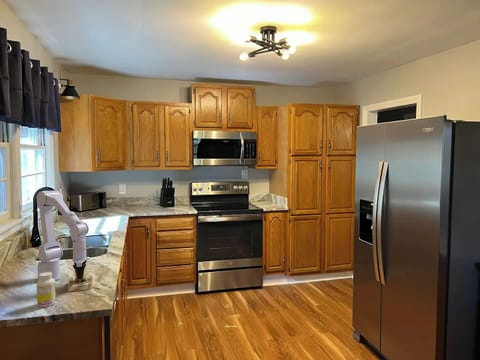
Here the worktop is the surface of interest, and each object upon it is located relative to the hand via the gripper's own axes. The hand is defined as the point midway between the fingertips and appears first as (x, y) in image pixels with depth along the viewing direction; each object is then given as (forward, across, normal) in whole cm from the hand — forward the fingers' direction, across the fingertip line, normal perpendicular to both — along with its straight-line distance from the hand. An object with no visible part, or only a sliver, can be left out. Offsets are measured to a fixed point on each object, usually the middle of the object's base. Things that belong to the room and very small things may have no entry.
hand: (80, 277), depth 167 cm
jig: (+4, 0, 0) cm, 4 cm away
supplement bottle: (+4, -18, +12) cm, 22 cm away
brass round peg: (+2, 0, 0) cm, 2 cm away
